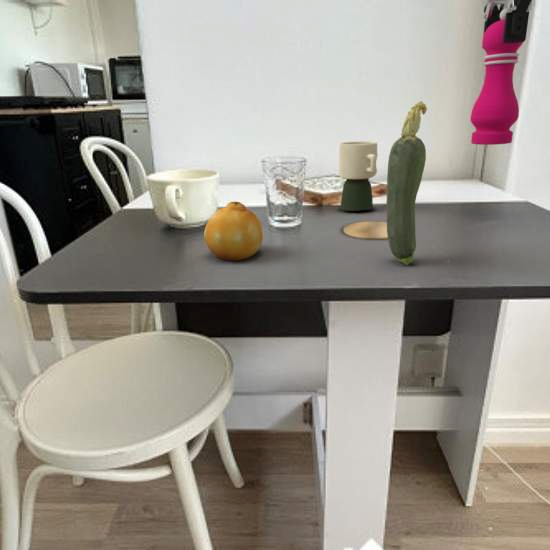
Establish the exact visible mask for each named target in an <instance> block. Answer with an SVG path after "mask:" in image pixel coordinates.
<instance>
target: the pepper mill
mask: <svg viewBox="0 0 550 550" xmlns="http://www.w3.org/2000/svg"><path fill="white" fill-rule="evenodd" d="M506 13H510V11H509V7H507V8H505V9H503V10H502V11H501V13H500V19H501V20H500V21H497V22H495V23H493V24H492V25H491V26H489V27H488V28H487V30H486V31H485V33H484V32H483V34H484V36H483V35H482V41H481V47H482V46H483V48H484V49H483V48H482V49H483V50H484V51H485V53H486V55H485V56H483V60H484V61H483V64H482V65H483V66H484V67H485V73H484V79H483V85H482V88H481V90H480V92H479V95H478V97H477V98H476V101H475V102H474V104H473V105H472V106H473V107H472V109H471V113H470V118H469V119H470V123H471V124H472V125H473V127H474V129H475V131H473V132H472V133H471V140H470V143H471V144H472V145H480V146H481V145H483V146H484V145H485V146H487V145H488V146H489V145H492V146H493V145H507V144H508V145H509V144H512V143H513V135H514V131H512V130H510V129H511V127H513V126H514V124H515V123H516V122H517V121H518V119H519V115H520V114H519V113H520V107H519V102H518V98H517V96H516V92H515V88H514V70H515V69H514V68H515V65H516V64H517V63H518V62H519V60H518V59H519V56H520V53H518V50H519V49H520V48H521V47H522V46H523V44H524V42H521V43H503V34H504V25H505V17H506Z"/></svg>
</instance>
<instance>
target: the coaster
mask: <svg viewBox="0 0 550 550" xmlns="http://www.w3.org/2000/svg"><path fill="white" fill-rule="evenodd" d="M343 233H344V234H346V235H347V236H350V237H353V238H357V239H363V240H388V235H387V221H378V220H377V221H359V222H353V223H350V224H347V225H345V226H344V227H343Z"/></svg>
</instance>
